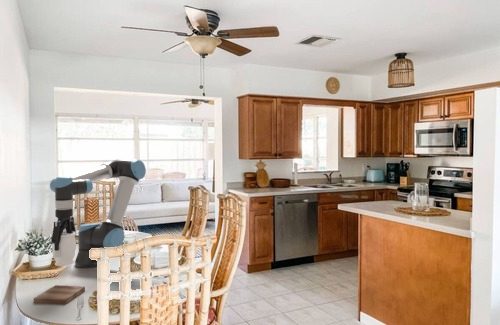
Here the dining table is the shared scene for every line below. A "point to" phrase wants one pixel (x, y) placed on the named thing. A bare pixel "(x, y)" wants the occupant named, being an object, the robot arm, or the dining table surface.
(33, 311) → the dining table surface
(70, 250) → the jar
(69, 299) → the board
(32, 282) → the dining table surface
